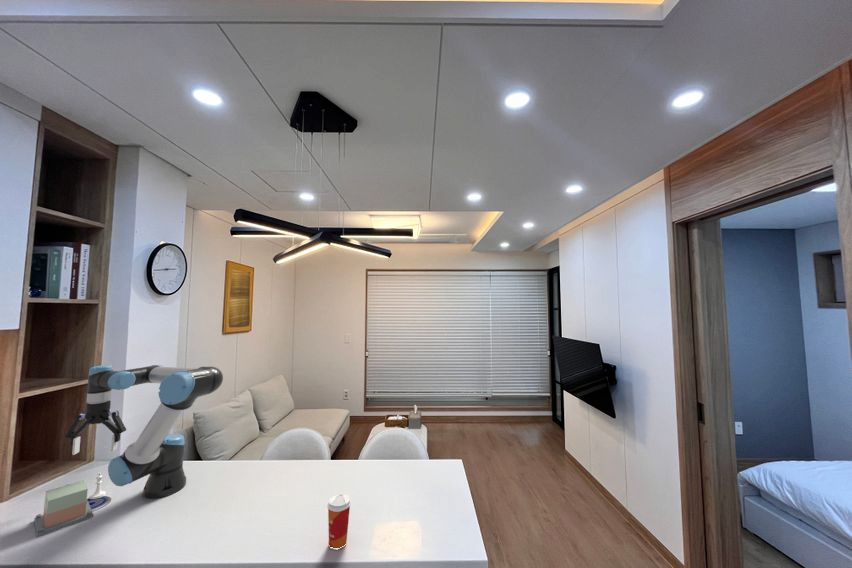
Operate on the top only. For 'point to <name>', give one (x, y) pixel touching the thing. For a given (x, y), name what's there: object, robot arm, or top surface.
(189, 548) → the top surface
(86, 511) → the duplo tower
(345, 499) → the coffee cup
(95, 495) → the chess piece
